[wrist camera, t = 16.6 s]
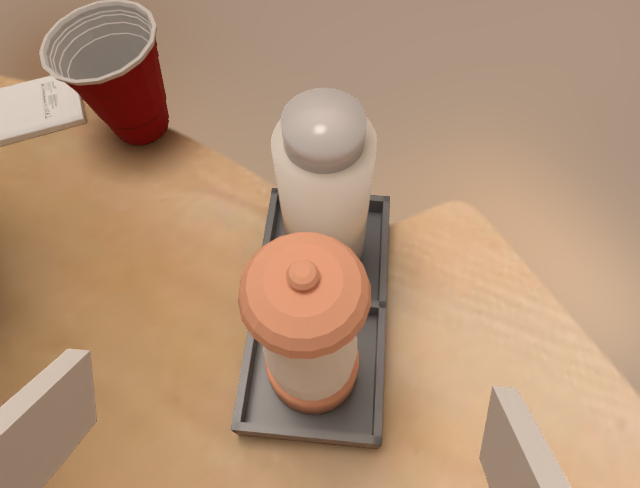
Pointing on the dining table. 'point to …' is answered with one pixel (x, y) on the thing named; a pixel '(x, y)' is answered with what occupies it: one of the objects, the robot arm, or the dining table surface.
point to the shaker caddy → (367, 395)
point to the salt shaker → (325, 165)
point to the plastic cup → (112, 66)
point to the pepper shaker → (307, 317)
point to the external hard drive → (38, 109)
